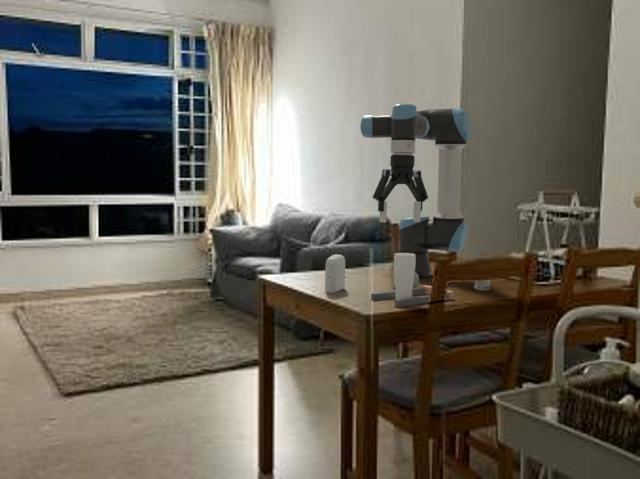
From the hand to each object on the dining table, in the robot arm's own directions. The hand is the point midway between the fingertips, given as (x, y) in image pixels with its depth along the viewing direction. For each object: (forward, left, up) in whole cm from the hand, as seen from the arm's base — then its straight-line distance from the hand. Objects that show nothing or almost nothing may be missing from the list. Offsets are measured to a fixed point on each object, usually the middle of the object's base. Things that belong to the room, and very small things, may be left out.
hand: (400, 222), depth 206 cm
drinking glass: (-2, +1, -25) cm, 25 cm away
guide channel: (-5, +1, -25) cm, 26 cm away
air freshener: (-16, -15, -26) cm, 33 cm away
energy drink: (-39, 0, -25) cm, 47 cm away
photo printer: (+8, -24, -25) cm, 36 cm away
